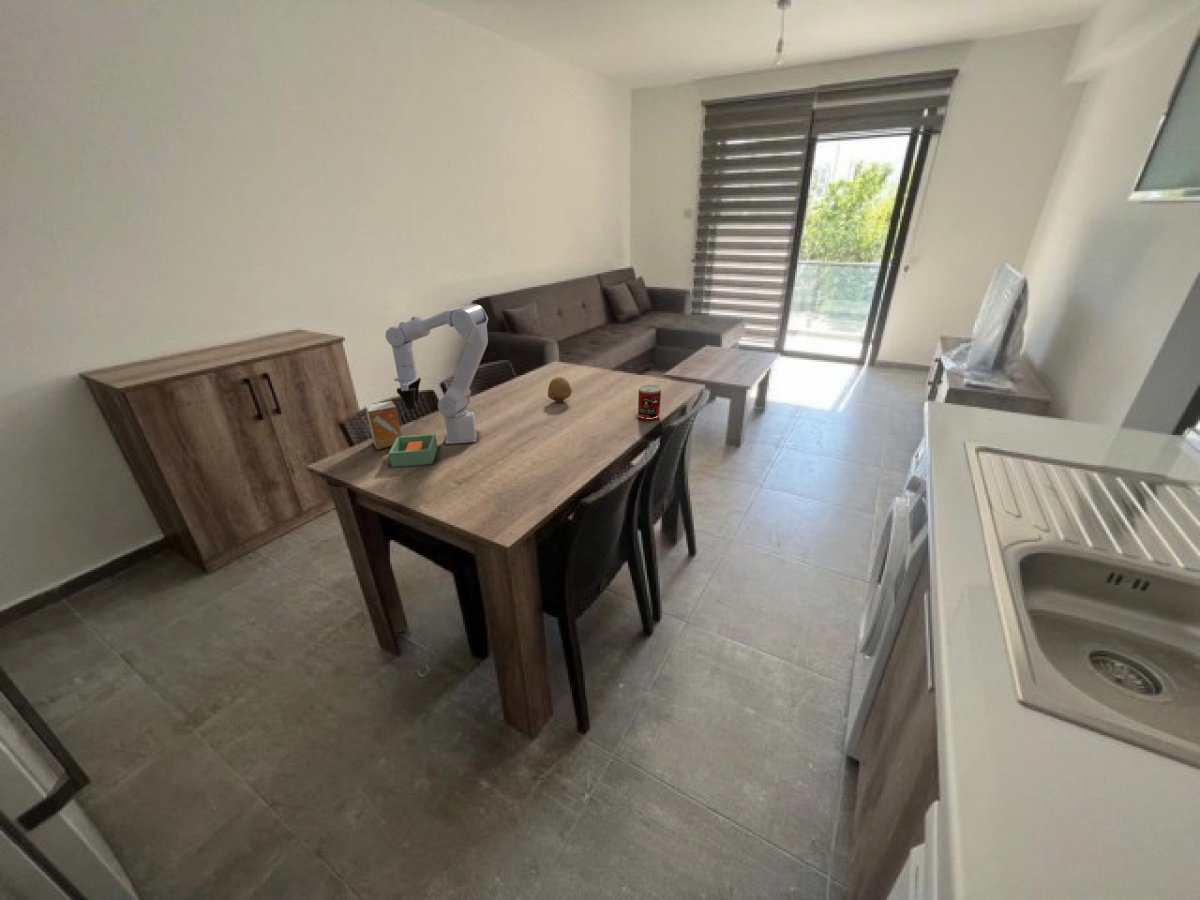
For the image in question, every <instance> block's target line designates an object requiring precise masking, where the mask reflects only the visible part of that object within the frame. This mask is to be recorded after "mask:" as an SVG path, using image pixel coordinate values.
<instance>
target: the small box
mask: <svg viewBox="0 0 1200 900" xmlns="http://www.w3.org/2000/svg"><path fill="white" fill-rule="evenodd" d="M364 408H365V413H366V417H367V421H368V426H369V431H370V434H371V438H372V442H373V444H374V446H375V448H376V450H377V451H378V450H381V449H386V448H389V447H390V448H392V446H393V444H394V442H395V440H396V438H397V437H401V436H403V435H402V430H401V425H400V420H399V415H398V409H397V406H396V404H394V402H393V401H392V400H389V401H385V402H377V403H373V404H368V405H364Z"/></svg>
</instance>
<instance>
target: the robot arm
mask: <svg viewBox="0 0 1200 900" xmlns="http://www.w3.org/2000/svg"><path fill="white" fill-rule="evenodd" d="M488 321H489V317H488V315H487V313H486V311H485V309H484V308H483V307H482V306H481V305H479V304H477V303H471V304H469V305H463V306H459V307H453V308H450V309H447V310H444V311H441V312H440V313H438V314H435V315H433V316H430V317H428V318H424V317H423V316H417V315H415V316H412V317H410V320H408V321H400V322H399V324H397V325H395V326H391V327H389V328H388V329H387V330H386V331H385V339H386V342H387V343H388V344H389V345H391V348H392V355H393V358H394V359H393V360H394V364H395V368H396V369H395V370H396V373H397V376H396V377H394V378H393V379H394V381H395V382H398V383H399V386H400V387H397V388H396V393H397V394H398V395H399V396H400V398H401V400H402V402H403V404H404V406H405V408H406V409H407V410H415V406H416V404H415V402H418V401H419V395H420V394H419V393H420V391H419V390H420V383H421V380H422V378H421V377H419V376H418V373H417V367H416V361H415V357H414V350H413V346H414V345H413V342H414V341H416V340H419V339H422V338H425V337H427V336H429V335H430V333H431V330H433V329H435V328H439V327H442V326H445V325H448V326H449V327H450V328H454V329H455V330H456V331H457V333H458V334H459V335H460V336H461V337H462V338H463V340H464V341H465V342H466V346H465V349H464V352H463V354H462V357H461V359H460V362H459V364H458V367H457V370H456V373H455V375H454V378H453V380H452V383H451V385H450V387H449V388H448V389H447V390H446V391H445V393H444V395H443V397H442V398H441V399H439V400H438V402H437V409H438V411H439V413H440V414H441V415H442V417H443V418H444V422H445V429H446V439H445V442H444V443H445V444H446V445H451V444H454V445H455V444H464V443H465V444H466V443H476V442H477V435H478V429H477V423H476V422H477V421H476V416H475V415H476V414H475V412H474V411H468V406H469V405H470V403H471V398H470V396H471V393H472V391H471V390H470V387H471V385H472V383H473V380H474V377H475V375H476V372H477V370H478V368H479V366H480V363H481V361H482V359H483V356H484V354H485V351H486V349H487V347H488V343H489V338H488V326H487V325H488Z"/></svg>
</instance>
